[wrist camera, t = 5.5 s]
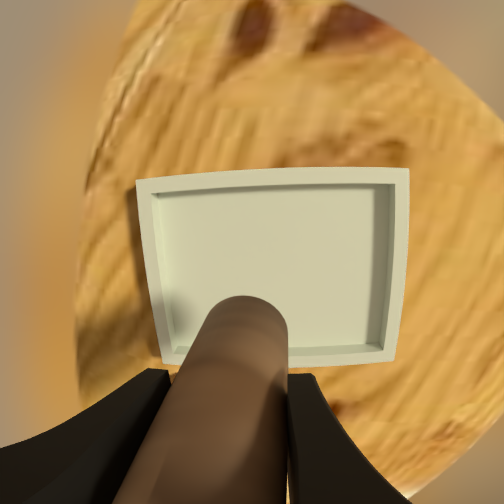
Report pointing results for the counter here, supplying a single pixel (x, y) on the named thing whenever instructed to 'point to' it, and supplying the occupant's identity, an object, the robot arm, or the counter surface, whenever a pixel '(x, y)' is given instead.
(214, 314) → the dowel
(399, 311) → the tray
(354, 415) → the counter surface
